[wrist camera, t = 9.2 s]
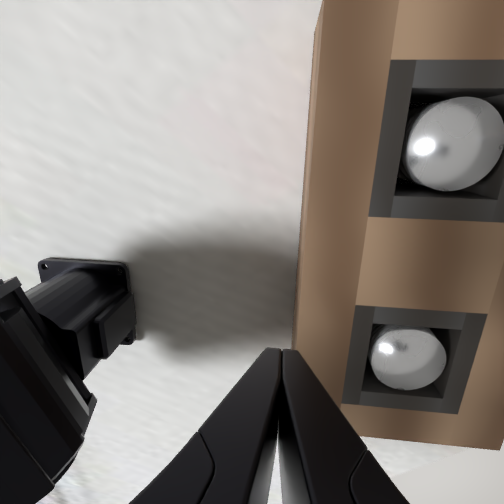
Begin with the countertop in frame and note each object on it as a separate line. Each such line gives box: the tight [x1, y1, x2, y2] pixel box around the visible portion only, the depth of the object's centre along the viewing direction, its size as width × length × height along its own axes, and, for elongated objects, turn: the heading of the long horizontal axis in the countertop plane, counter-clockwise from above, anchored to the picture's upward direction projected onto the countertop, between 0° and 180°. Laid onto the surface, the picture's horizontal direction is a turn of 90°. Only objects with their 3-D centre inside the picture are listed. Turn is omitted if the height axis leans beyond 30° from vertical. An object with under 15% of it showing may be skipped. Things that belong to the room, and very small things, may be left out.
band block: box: [291, 0, 504, 450], centre depth 18 cm, size 12×22×5 cm, turn 179°
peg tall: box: [367, 323, 446, 390], centre depth 19 cm, size 4×4×5 cm
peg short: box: [397, 97, 504, 191], centre depth 16 cm, size 4×4×5 cm
